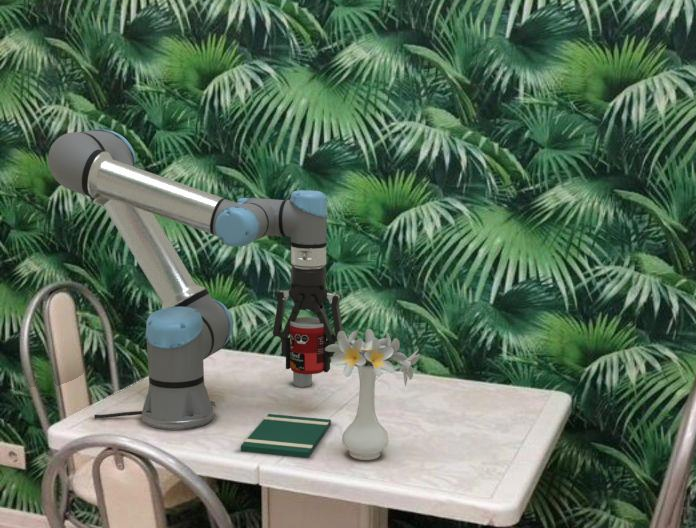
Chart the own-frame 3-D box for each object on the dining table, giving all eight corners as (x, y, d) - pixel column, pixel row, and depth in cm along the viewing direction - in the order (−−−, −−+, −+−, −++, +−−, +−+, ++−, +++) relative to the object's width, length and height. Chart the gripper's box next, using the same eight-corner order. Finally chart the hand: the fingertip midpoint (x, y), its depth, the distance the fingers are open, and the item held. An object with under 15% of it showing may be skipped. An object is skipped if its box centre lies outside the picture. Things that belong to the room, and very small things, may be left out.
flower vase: (411, 470, 185) (418, 344, 175) (317, 462, 187) (319, 338, 177) (416, 446, 197) (423, 327, 187) (328, 439, 199) (330, 322, 189)
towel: (240, 451, 191) (240, 445, 191) (268, 418, 210) (268, 413, 209) (308, 458, 189) (308, 451, 188) (330, 424, 207) (330, 419, 207)
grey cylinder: (304, 380, 236) (304, 340, 232) (315, 385, 233) (316, 344, 229) (289, 383, 233) (289, 343, 230) (300, 388, 230) (300, 347, 226)
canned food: (285, 366, 213) (285, 318, 209) (319, 363, 216) (320, 315, 212) (295, 376, 207) (295, 326, 203) (330, 373, 209) (331, 324, 205)
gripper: (256, 266, 201) (257, 369, 209) (353, 272, 198) (350, 377, 206) (266, 260, 208) (267, 360, 216) (360, 266, 204) (357, 368, 213)
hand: (307, 368), depth 211 cm, fingers closed on canned food, 8 cm apart
